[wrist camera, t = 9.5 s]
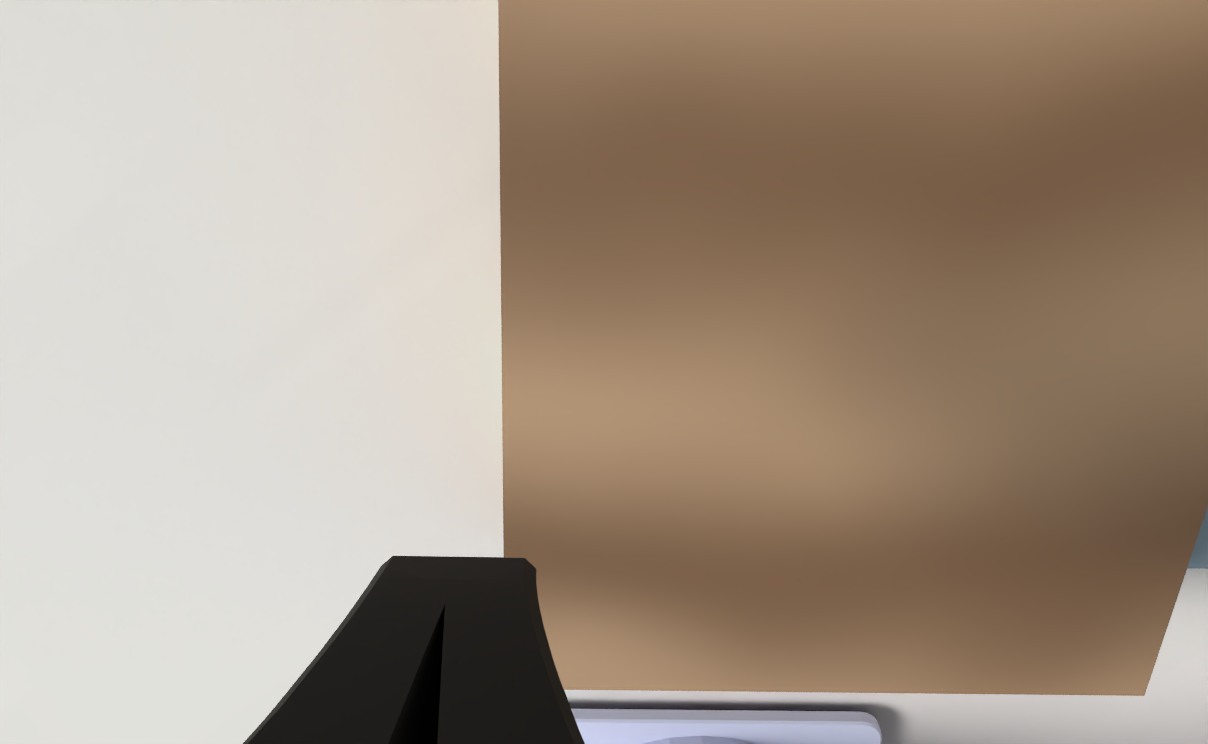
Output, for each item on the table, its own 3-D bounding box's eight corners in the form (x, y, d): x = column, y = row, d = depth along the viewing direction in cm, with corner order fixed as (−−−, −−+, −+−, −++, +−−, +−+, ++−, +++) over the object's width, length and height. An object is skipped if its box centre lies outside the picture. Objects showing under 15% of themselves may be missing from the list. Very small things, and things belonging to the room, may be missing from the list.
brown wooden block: (1051, 557, 22) (1143, 695, 18) (517, 549, 22) (505, 689, 18) (1348, -563, 14) (1613, -706, 10) (513, -607, 14) (491, -769, 10)
